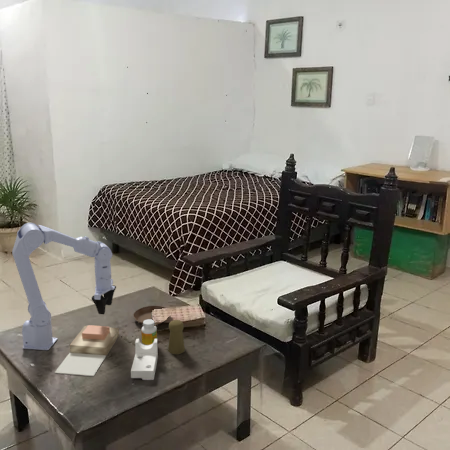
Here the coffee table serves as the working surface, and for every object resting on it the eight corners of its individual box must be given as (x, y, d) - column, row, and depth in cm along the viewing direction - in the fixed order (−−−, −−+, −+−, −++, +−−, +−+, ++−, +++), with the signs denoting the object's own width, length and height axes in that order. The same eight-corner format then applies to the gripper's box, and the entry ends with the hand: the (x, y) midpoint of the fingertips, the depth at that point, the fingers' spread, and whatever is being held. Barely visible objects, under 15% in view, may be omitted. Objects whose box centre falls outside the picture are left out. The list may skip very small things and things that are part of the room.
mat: (54, 373, 159) (54, 372, 159) (69, 353, 170) (69, 352, 170) (93, 376, 158) (93, 375, 157) (106, 356, 169) (106, 355, 169)
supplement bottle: (154, 351, 173) (153, 326, 170) (139, 349, 174) (138, 324, 171) (159, 343, 178) (158, 319, 175) (144, 341, 179) (144, 317, 176)
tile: (82, 338, 174) (81, 333, 174) (88, 330, 180) (88, 325, 180) (104, 339, 174) (103, 334, 173) (109, 331, 179) (109, 326, 179)
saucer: (140, 332, 186) (140, 325, 185) (128, 315, 198) (128, 309, 198) (176, 324, 192) (176, 317, 192) (163, 308, 205) (163, 302, 204)
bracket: (137, 358, 169) (136, 338, 167) (157, 358, 169) (157, 338, 167) (131, 380, 156) (130, 359, 154) (153, 380, 157) (153, 359, 154)
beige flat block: (70, 352, 171) (69, 345, 170) (85, 332, 184) (84, 325, 183) (106, 355, 169) (106, 347, 169) (119, 335, 183) (118, 328, 182)
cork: (164, 349, 174) (163, 321, 171) (177, 343, 178) (176, 316, 175) (175, 356, 170) (175, 327, 167) (188, 349, 174) (188, 321, 171)
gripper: (107, 284, 173) (108, 318, 177) (120, 268, 187) (121, 301, 191) (87, 282, 174) (90, 317, 178) (102, 267, 188) (103, 300, 192)
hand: (105, 309), depth 184 cm, fingers open, 7 cm apart
